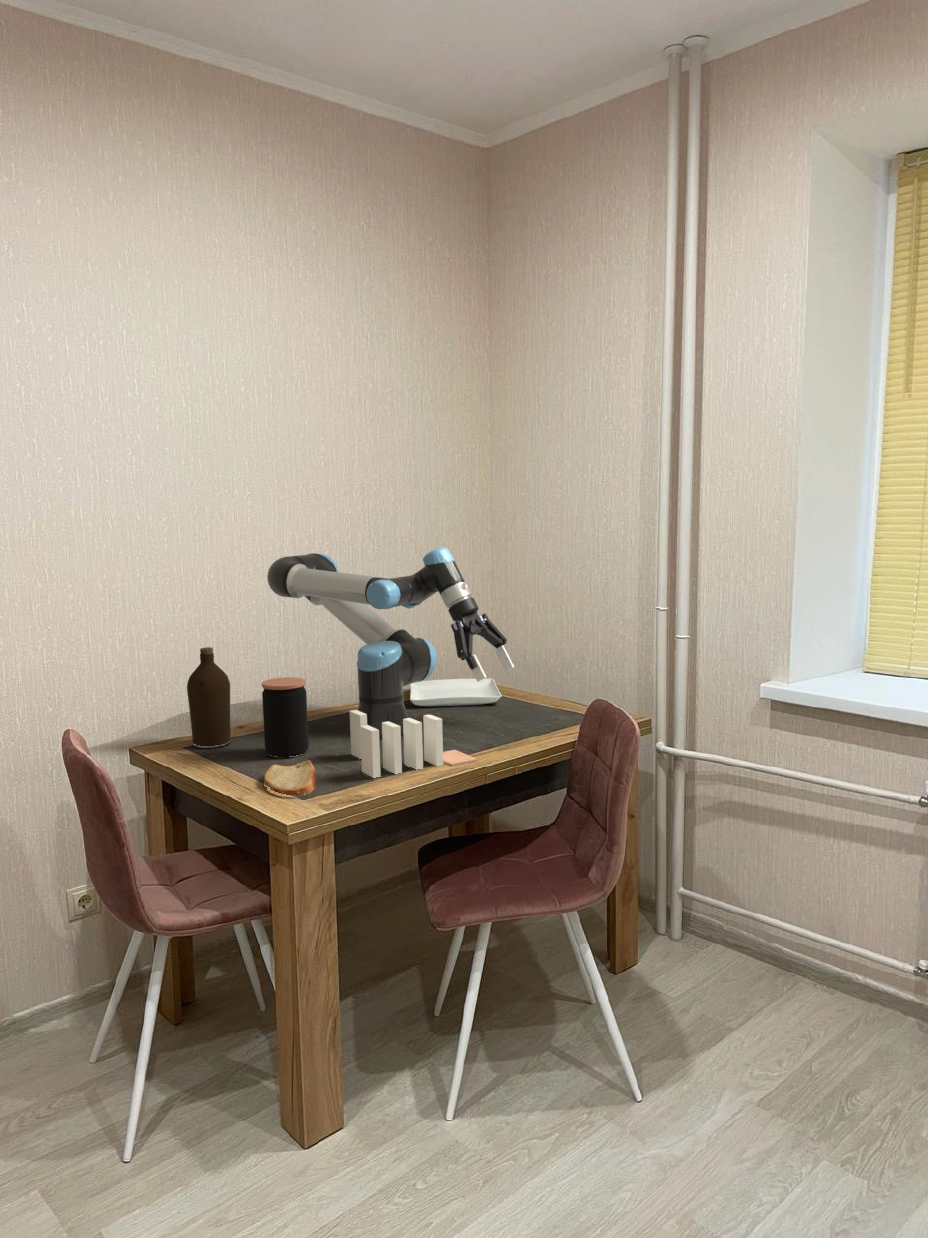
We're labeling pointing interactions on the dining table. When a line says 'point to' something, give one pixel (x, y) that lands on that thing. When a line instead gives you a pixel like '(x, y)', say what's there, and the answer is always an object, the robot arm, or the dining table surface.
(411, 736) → the domino
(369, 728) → the domino
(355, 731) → the domino
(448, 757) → the mat
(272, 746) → the coffee jar
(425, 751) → the domino
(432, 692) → the square plate
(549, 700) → the dining table surface
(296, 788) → the slice of bread
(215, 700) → the olive oil
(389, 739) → the domino
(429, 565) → the robot arm
